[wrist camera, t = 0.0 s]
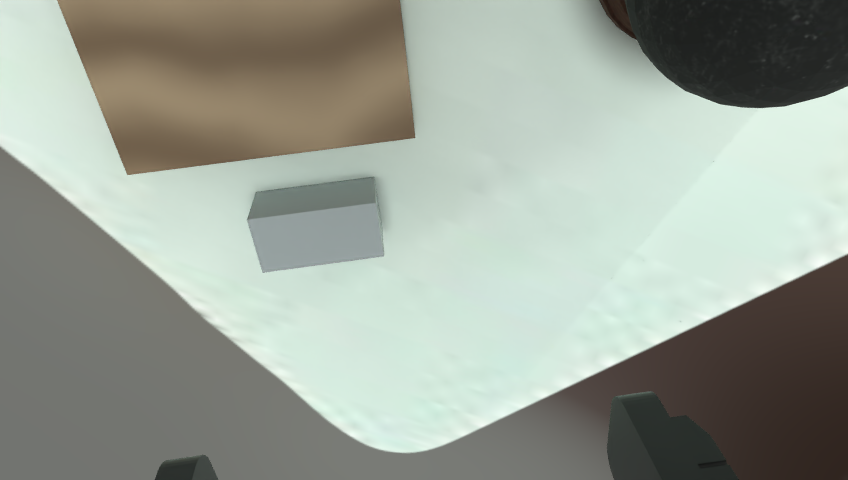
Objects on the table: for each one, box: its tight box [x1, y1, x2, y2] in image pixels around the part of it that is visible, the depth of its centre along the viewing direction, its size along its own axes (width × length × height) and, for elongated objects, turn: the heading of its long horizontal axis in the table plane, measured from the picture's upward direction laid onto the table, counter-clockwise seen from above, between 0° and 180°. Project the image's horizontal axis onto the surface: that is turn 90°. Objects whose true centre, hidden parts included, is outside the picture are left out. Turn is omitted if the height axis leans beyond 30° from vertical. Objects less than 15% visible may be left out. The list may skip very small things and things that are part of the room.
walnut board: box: [57, 0, 415, 175], centre depth 33 cm, size 14×18×2 cm
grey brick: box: [247, 177, 384, 273], centre depth 39 cm, size 4×8×4 cm, turn 95°
